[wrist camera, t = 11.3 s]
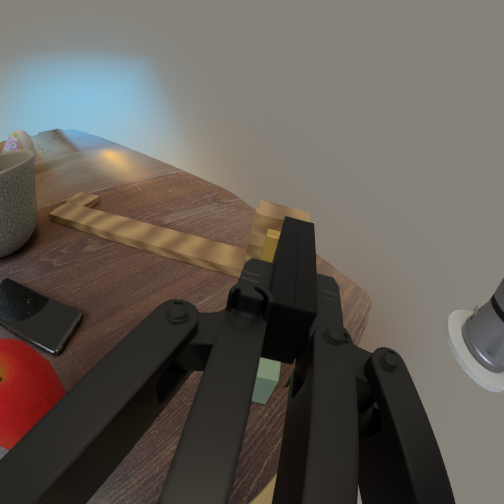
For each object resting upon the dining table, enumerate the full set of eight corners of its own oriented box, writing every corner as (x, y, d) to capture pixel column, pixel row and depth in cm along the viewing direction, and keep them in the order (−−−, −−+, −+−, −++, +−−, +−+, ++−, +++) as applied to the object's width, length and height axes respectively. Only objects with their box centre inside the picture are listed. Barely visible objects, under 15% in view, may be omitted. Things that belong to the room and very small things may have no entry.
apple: (21, 384, 19) (-30, 302, 12) (93, 398, 21) (55, 317, 15) (9, 459, 11) (-69, 398, 5) (89, 483, 14) (25, 443, 7)
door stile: (281, 297, 41) (291, 270, 38) (265, 404, 25) (278, 381, 23) (242, 287, 41) (249, 259, 38) (208, 390, 26) (213, 364, 23)
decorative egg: (-3, 181, 55) (-6, 135, 47) (23, 168, 65) (21, 126, 57) (15, 185, 54) (12, 134, 46) (43, 172, 65) (42, 125, 57)
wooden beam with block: (293, 252, 53) (311, 193, 46) (288, 299, 41) (313, 228, 34) (81, 197, 55) (80, 148, 48) (40, 223, 43) (34, 166, 37)
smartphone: (55, 354, 23) (-22, 306, 22) (58, 359, 23) (-19, 312, 22) (84, 311, 29) (6, 275, 28) (85, 316, 29) (8, 281, 29)
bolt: (283, 253, 41) (299, 199, 37) (274, 310, 30) (297, 243, 26) (263, 248, 41) (277, 193, 37) (248, 303, 31) (266, 235, 26)
